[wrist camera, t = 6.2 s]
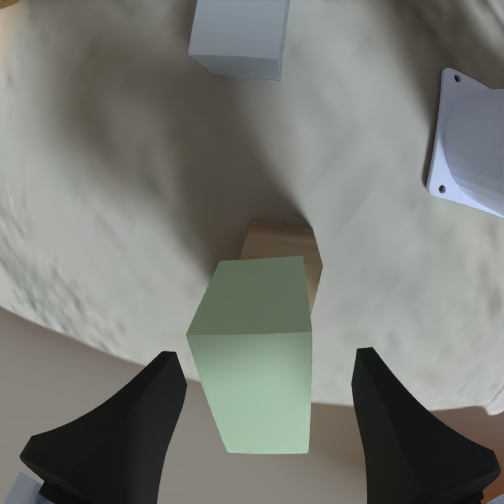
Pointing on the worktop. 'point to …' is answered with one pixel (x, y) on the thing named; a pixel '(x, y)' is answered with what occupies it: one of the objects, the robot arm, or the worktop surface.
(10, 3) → the potato
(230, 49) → the slate brick
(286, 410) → the green brick
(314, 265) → the walnut brick
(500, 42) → the worktop surface
